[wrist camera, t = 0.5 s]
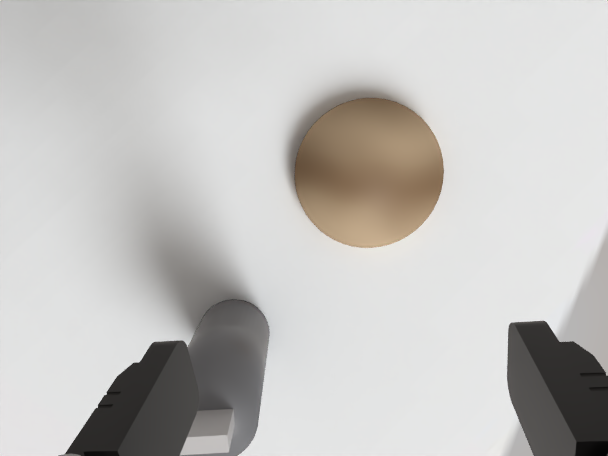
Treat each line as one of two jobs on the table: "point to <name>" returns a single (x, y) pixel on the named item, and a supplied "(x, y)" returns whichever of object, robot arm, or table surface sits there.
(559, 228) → the table surface
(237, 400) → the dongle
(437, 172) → the coaster
